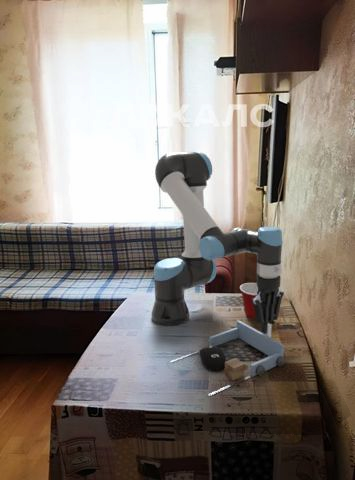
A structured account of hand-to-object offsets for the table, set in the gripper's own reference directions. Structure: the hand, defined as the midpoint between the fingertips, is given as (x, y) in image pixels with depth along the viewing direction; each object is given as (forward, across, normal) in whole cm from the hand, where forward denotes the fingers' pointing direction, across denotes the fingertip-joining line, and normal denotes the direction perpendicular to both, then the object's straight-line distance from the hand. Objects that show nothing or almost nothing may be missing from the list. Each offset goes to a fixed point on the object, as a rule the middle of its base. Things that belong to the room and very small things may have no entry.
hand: (266, 340), depth 125 cm
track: (+2, -17, 0) cm, 17 cm away
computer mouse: (+2, -21, +3) cm, 21 cm away
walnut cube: (+2, -20, -6) cm, 21 cm away
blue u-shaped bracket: (+2, -9, 0) cm, 9 cm away
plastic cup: (+2, +13, +20) cm, 24 cm away
